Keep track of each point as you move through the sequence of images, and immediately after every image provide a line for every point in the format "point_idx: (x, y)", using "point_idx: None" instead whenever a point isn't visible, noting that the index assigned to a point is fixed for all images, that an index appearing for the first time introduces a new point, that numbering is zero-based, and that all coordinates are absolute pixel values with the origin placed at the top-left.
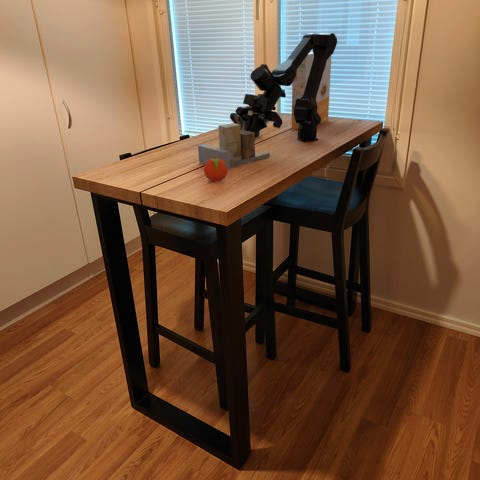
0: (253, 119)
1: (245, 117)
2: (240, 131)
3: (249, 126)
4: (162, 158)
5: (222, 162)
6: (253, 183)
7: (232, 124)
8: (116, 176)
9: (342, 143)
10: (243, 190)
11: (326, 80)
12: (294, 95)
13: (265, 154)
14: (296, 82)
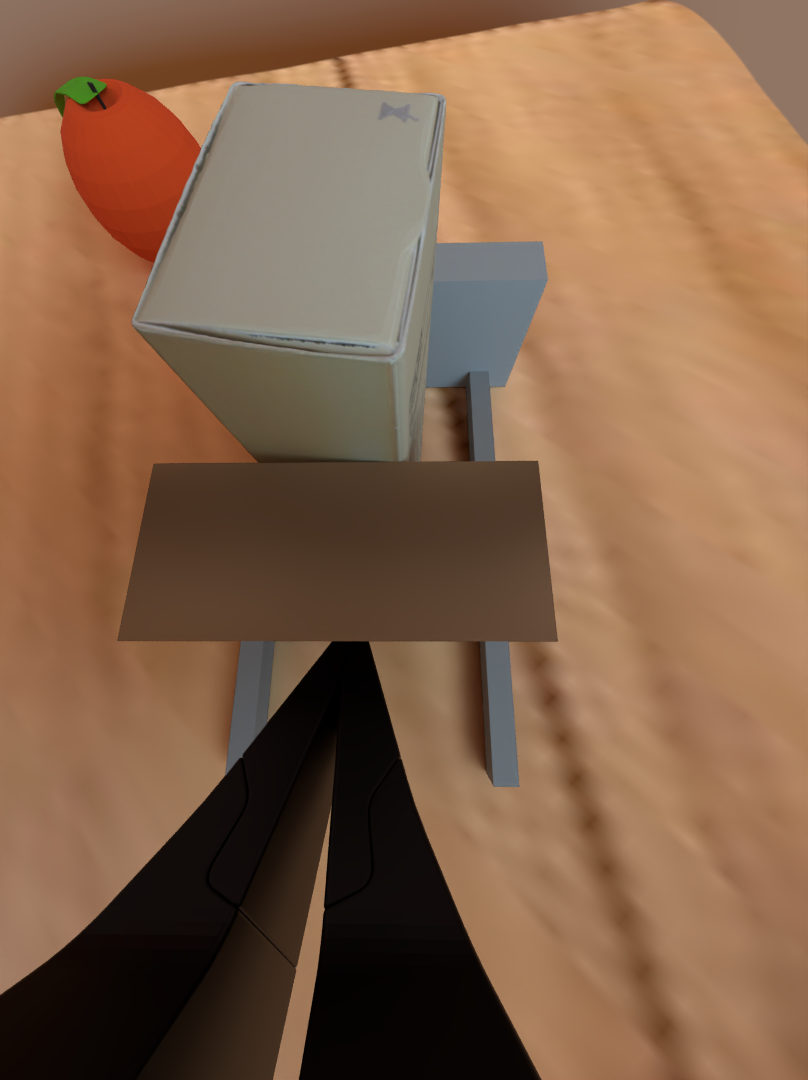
0: (105, 1044)
1: None
2: (365, 555)
3: (334, 792)
4: (737, 282)
5: (61, 135)
6: (18, 331)
7: (282, 245)
8: (581, 70)
9: None
10: (11, 258)
11: None
12: None
13: (232, 724)
14: None
